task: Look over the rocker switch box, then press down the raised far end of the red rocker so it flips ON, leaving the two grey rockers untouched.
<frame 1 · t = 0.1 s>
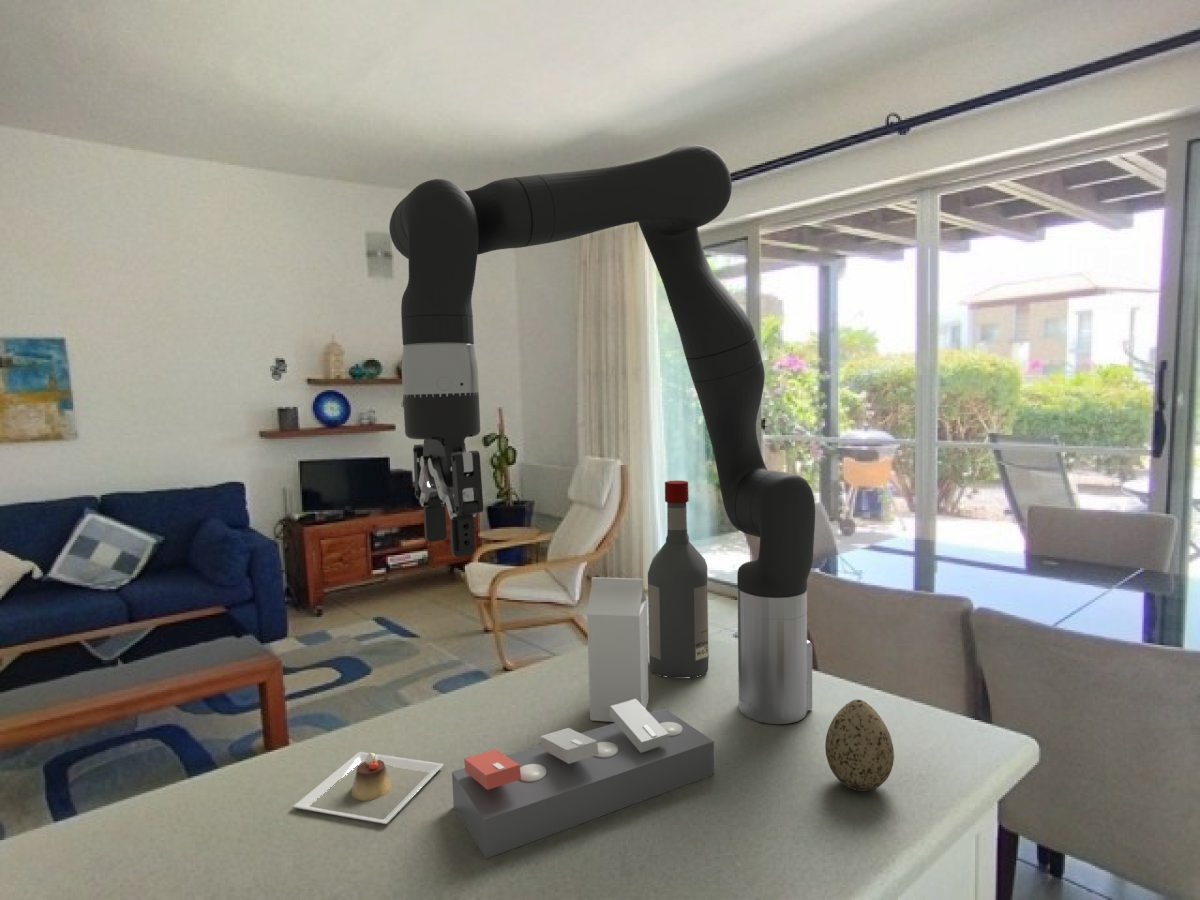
hand: (449, 547, 73), 29 cm above the counter, tool pointing down, fingers open, 8 cm apart
liquor: (679, 668, 113), on the counter
middle rocker: (568, 744, 78), point 6 cm above the counter, hinge at 12.0°
milk carton: (620, 712, 98), on the counter
red rocker: (491, 767, 73), point 6 cm above the counter, hinge at 12.0°
rocker switch box: (588, 789, 79), on the counter
decorative egg: (858, 788, 79), on the counter
far rocker: (638, 724, 82), point 6 cm above the counter, hinge at -12.0°
dessert: (372, 795, 81), on the counter
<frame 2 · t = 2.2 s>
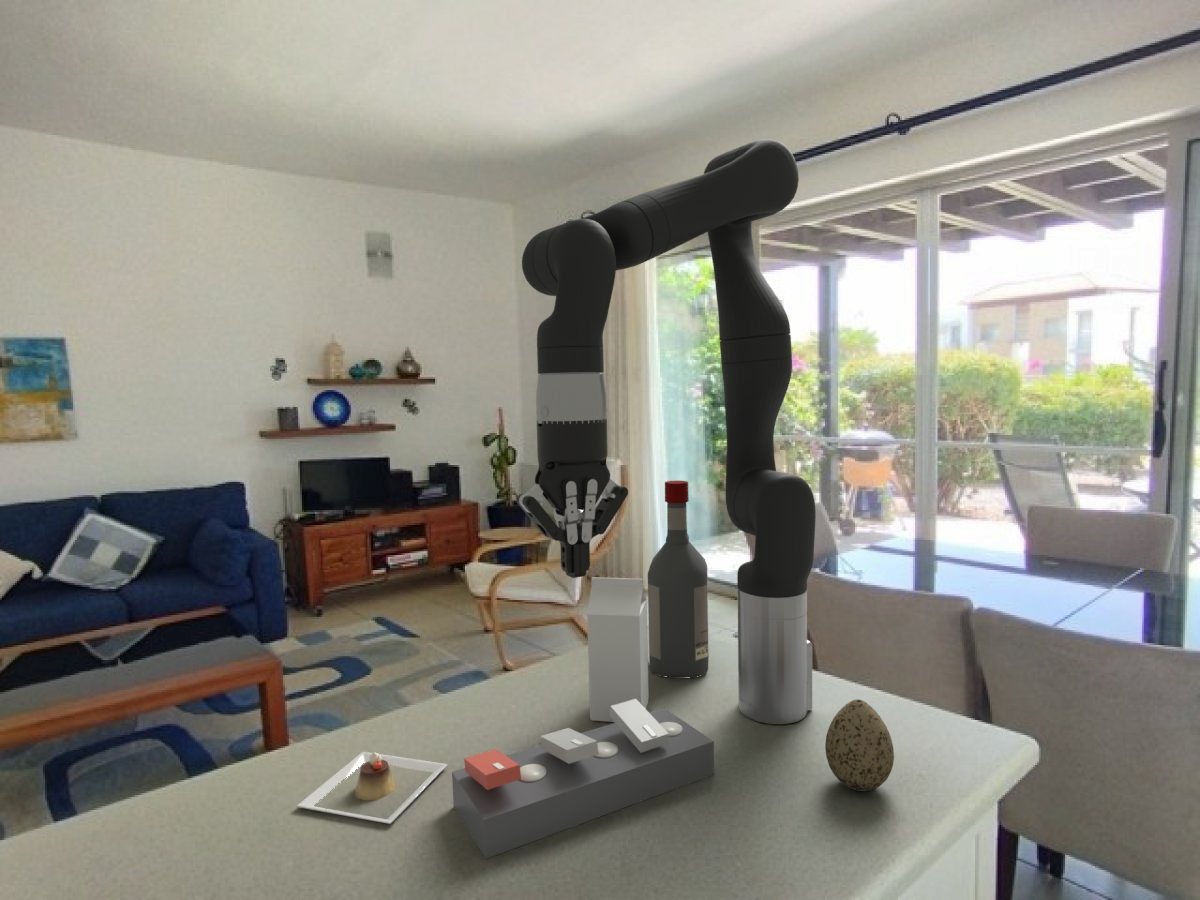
hand: (575, 575, 77), 25 cm above the counter, tool pointing down, fingers closed
nothing on the counter moved.
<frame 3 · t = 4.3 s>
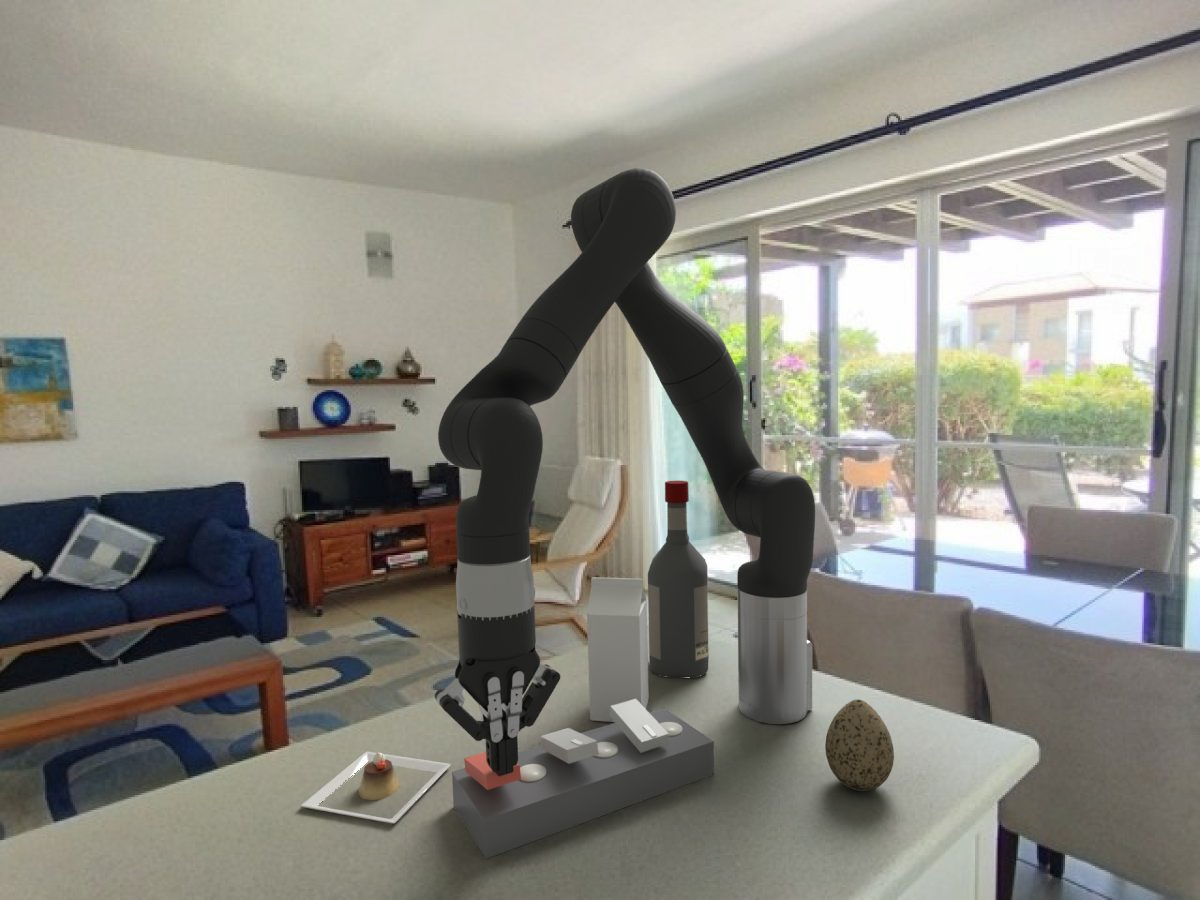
hand: (502, 770, 70), 7 cm above the counter, tool pointing down, fingers closed
red rocker: (491, 767, 73), point 6 cm above the counter, hinge at 11.7°, touching gripper
everything else where it was.
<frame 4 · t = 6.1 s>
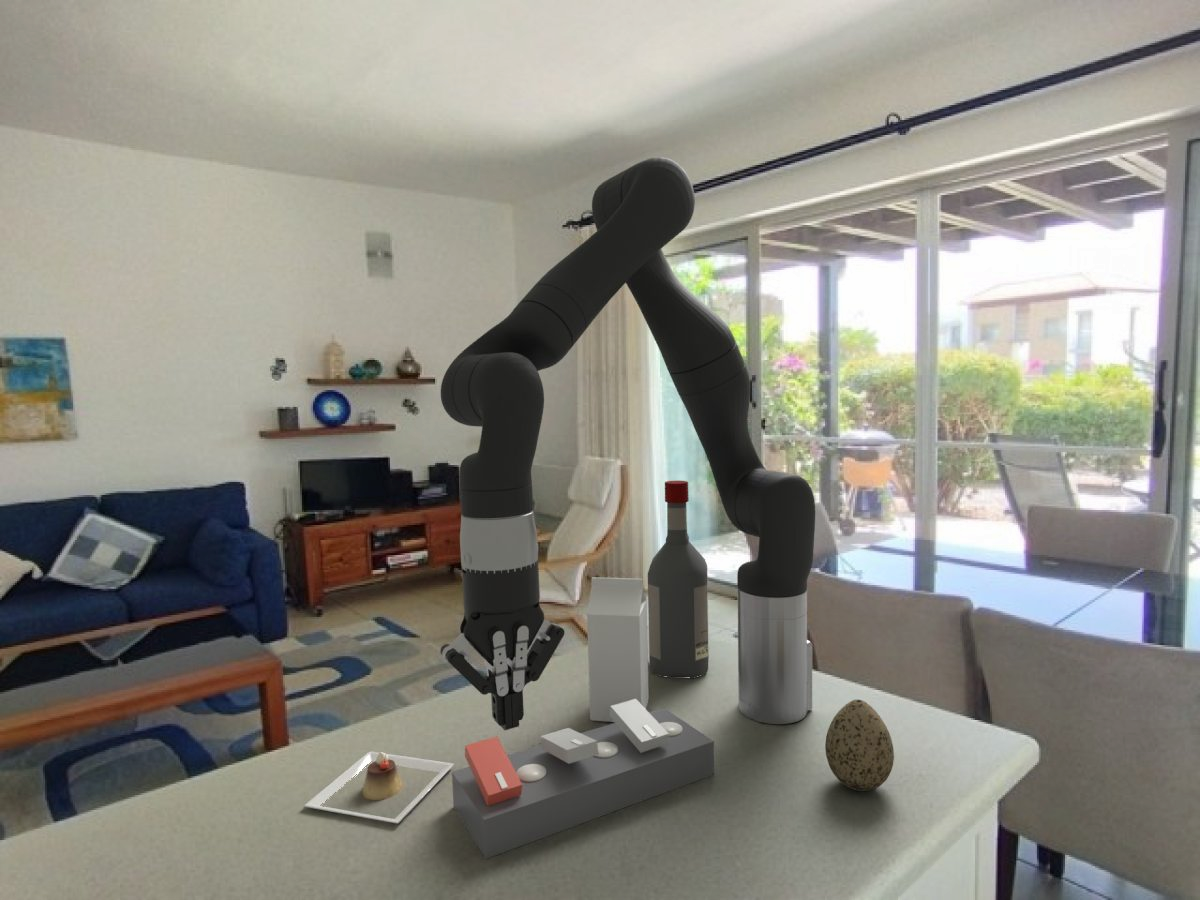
hand: (508, 725, 71), 11 cm above the counter, tool pointing down, fingers closed
red rocker: (492, 769, 73), point 6 cm above the counter, hinge at -18.1°
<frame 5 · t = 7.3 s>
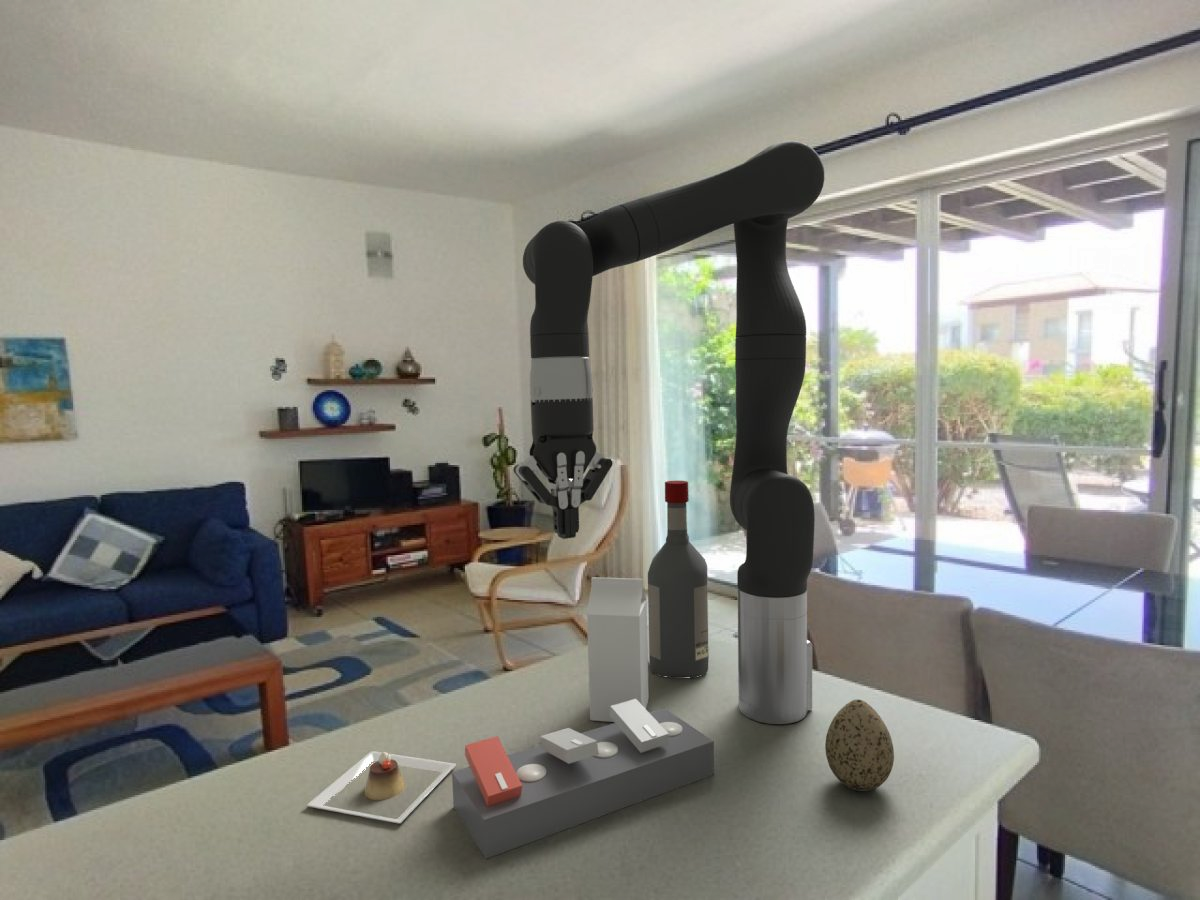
hand: (566, 537, 87), 27 cm above the counter, tool pointing down, fingers closed
red rocker: (492, 769, 73), point 6 cm above the counter, hinge at -19.3°
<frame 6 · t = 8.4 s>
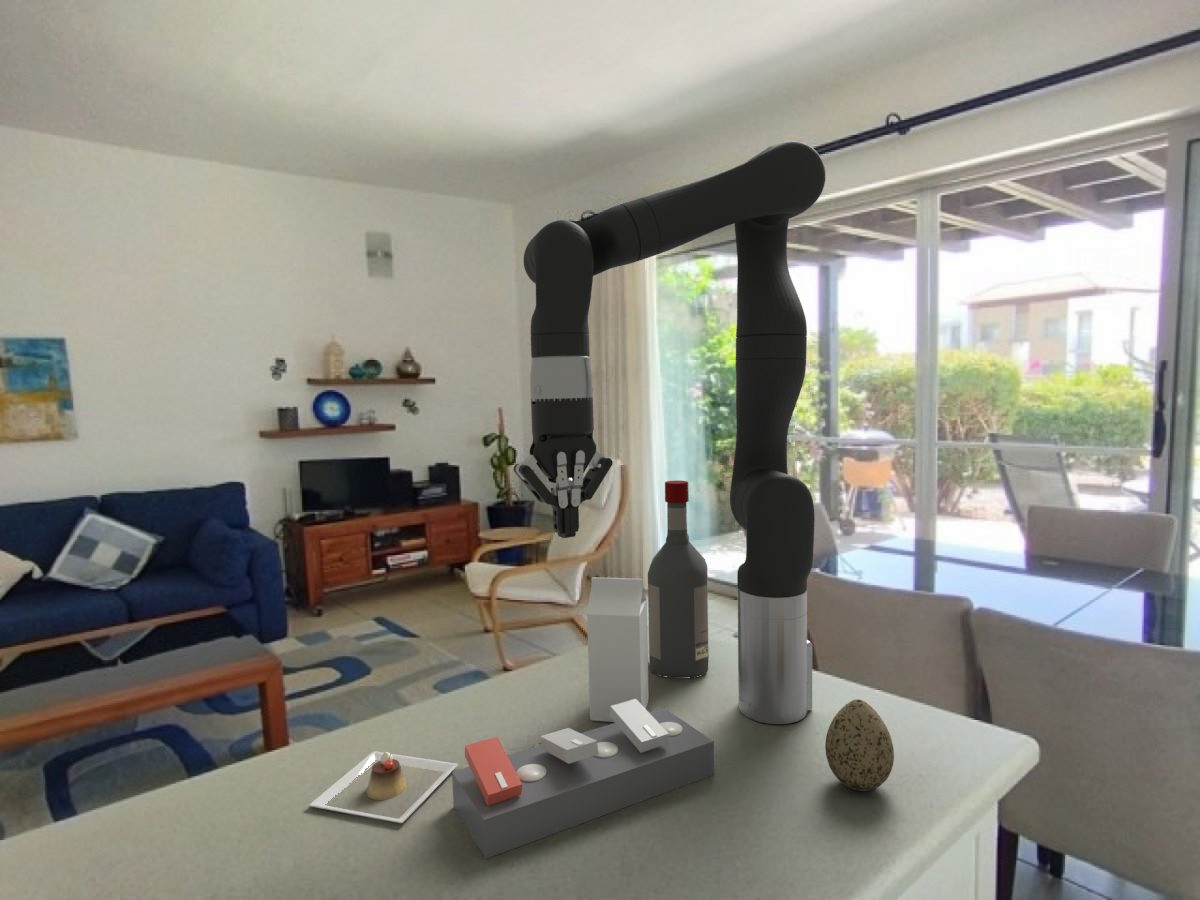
hand: (566, 536, 87), 27 cm above the counter, tool pointing down, fingers closed
red rocker: (492, 769, 73), point 6 cm above the counter, hinge at -17.3°
at the end: red rocker at -17° (first picture: +12°); far rocker at -12° (first picture: -12°); middle rocker at +12° (first picture: +12°) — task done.
